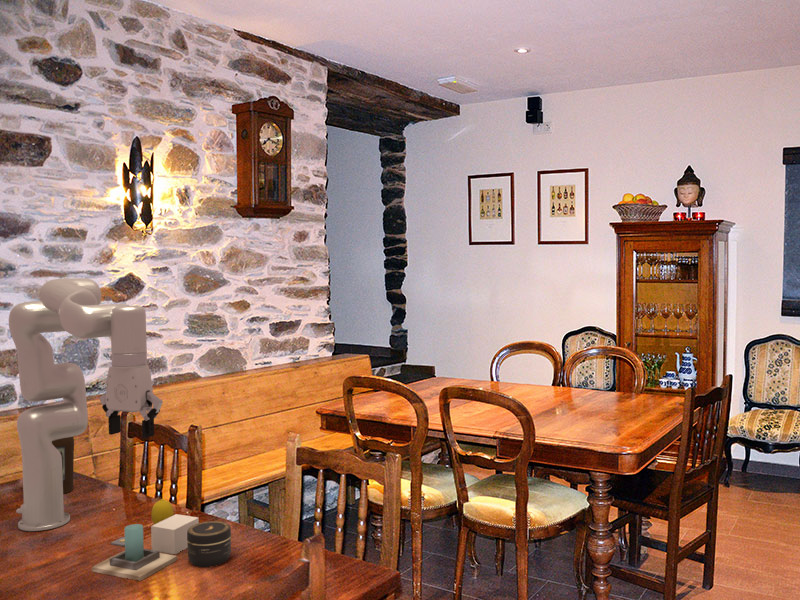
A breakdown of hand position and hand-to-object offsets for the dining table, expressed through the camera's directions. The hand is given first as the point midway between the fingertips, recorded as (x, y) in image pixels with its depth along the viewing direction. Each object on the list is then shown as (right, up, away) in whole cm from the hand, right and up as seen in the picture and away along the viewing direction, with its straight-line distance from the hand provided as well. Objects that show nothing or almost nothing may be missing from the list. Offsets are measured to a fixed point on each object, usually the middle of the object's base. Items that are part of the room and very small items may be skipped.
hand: (131, 435), depth 164 cm
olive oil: (-45, -28, +58) cm, 78 cm away
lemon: (-1, -30, +25) cm, 38 cm away
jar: (+17, -30, +4) cm, 35 cm away
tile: (-8, -30, +16) cm, 34 cm away
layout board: (0, -30, +1) cm, 30 cm away
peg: (0, -29, +1) cm, 29 cm away
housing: (+6, -30, +13) cm, 33 cm away
